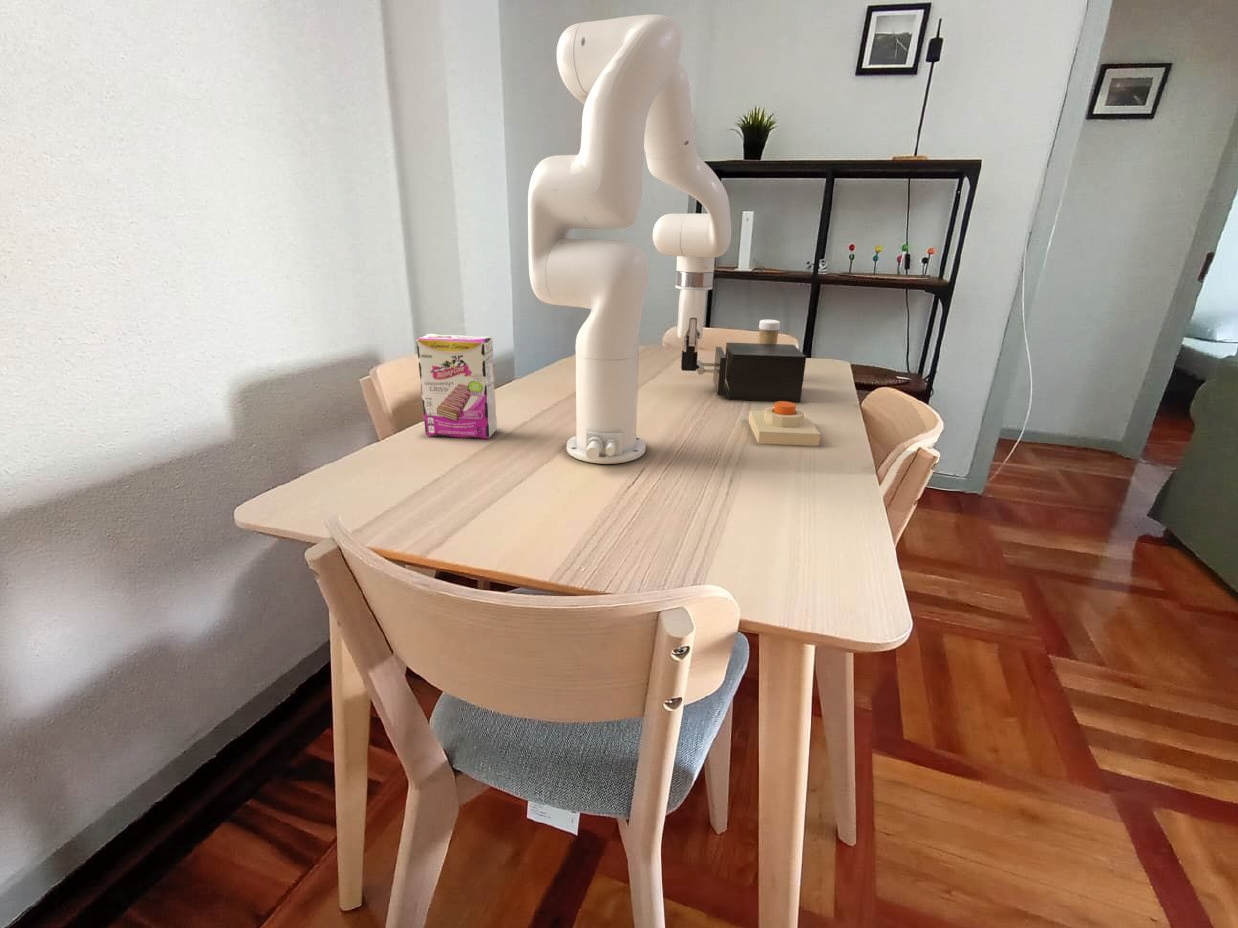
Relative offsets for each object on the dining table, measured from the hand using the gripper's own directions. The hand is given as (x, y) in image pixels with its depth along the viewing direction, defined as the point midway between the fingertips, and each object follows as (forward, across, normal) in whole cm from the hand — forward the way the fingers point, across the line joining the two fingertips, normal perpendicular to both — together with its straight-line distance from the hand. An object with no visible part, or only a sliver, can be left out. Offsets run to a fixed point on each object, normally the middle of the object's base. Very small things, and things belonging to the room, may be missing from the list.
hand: (688, 369), depth 130 cm
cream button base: (+5, +26, +15) cm, 31 cm away
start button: (+1, +26, +15) cm, 30 cm away
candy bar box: (+5, +33, -40) cm, 52 cm away
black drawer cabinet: (+5, 0, +16) cm, 16 cm away
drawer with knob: (+4, 0, +10) cm, 11 cm away
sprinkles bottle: (+5, -14, +19) cm, 24 cm away
